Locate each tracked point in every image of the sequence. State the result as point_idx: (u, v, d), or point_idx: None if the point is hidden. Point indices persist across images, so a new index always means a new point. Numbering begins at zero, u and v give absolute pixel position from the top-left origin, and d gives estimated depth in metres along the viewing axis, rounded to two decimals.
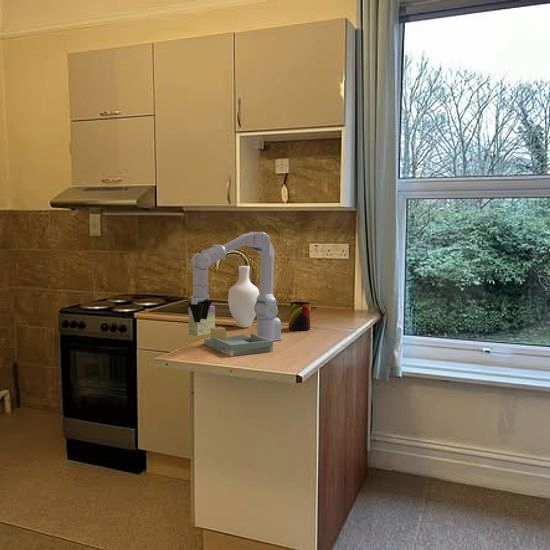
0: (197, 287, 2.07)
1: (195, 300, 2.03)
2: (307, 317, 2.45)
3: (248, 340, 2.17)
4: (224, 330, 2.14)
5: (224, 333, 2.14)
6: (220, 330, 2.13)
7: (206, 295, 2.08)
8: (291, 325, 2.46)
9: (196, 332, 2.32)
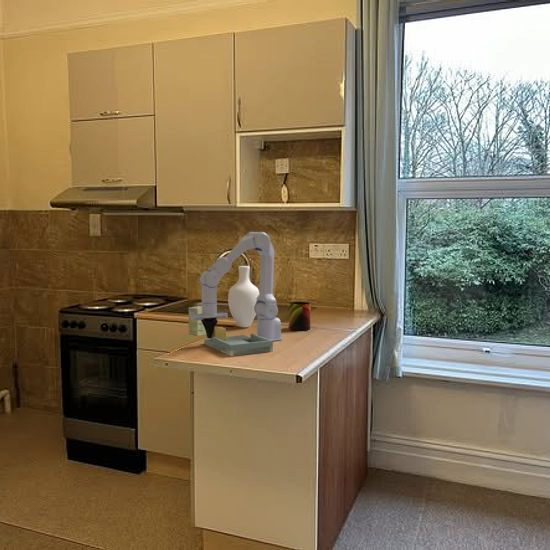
0: (202, 304, 2.11)
1: (192, 317, 2.08)
2: (307, 317, 2.45)
3: (248, 340, 2.17)
4: (224, 330, 2.14)
5: (224, 333, 2.14)
6: (220, 330, 2.13)
7: (209, 313, 2.10)
8: (291, 325, 2.46)
9: (196, 332, 2.32)
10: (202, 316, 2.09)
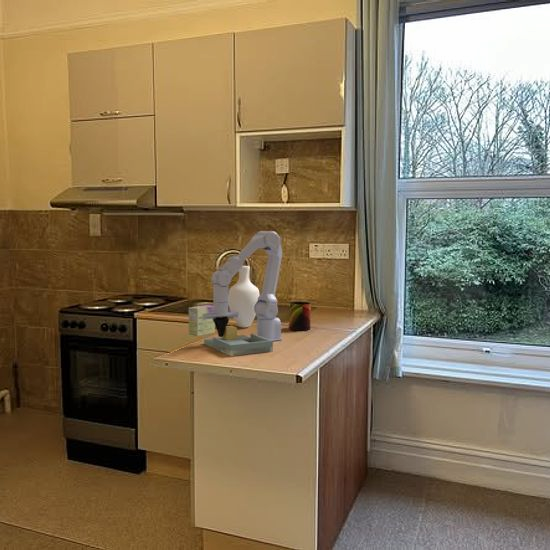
0: (213, 303, 2.13)
1: (204, 315, 2.11)
2: (307, 317, 2.45)
3: (248, 340, 2.17)
4: (235, 329, 2.16)
5: (235, 332, 2.16)
6: (231, 329, 2.15)
7: (221, 312, 2.12)
8: (291, 325, 2.46)
9: (196, 332, 2.32)
10: (214, 315, 2.11)
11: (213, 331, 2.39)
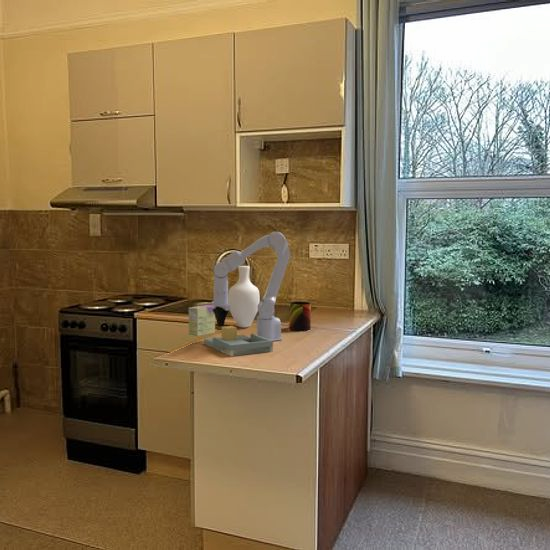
0: (223, 294, 2.20)
1: (229, 306, 2.17)
2: (307, 317, 2.45)
3: (248, 340, 2.17)
4: (235, 329, 2.16)
5: (235, 332, 2.16)
6: (231, 329, 2.15)
7: (227, 301, 2.23)
8: (292, 325, 2.46)
9: (196, 332, 2.32)
10: (228, 305, 2.20)
11: (213, 331, 2.39)
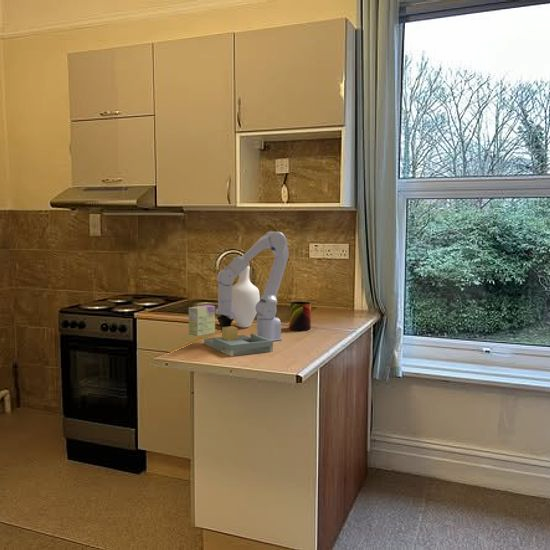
0: (227, 302, 2.16)
1: (234, 315, 2.13)
2: (308, 317, 2.46)
3: (248, 340, 2.17)
4: (236, 329, 2.15)
5: (236, 332, 2.15)
6: (232, 329, 2.14)
7: None
8: (292, 325, 2.46)
9: (196, 332, 2.32)
10: (233, 313, 2.17)
11: (213, 331, 2.39)
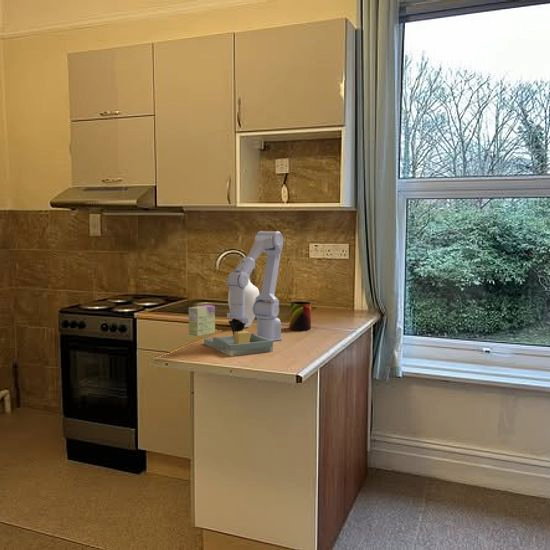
0: (240, 306, 2.07)
1: (247, 319, 2.04)
2: (308, 317, 2.46)
3: None
4: (248, 334, 2.06)
5: (248, 337, 2.06)
6: (244, 334, 2.05)
7: (244, 313, 2.10)
8: (292, 325, 2.46)
9: (196, 332, 2.32)
10: (246, 317, 2.08)
11: (213, 331, 2.39)
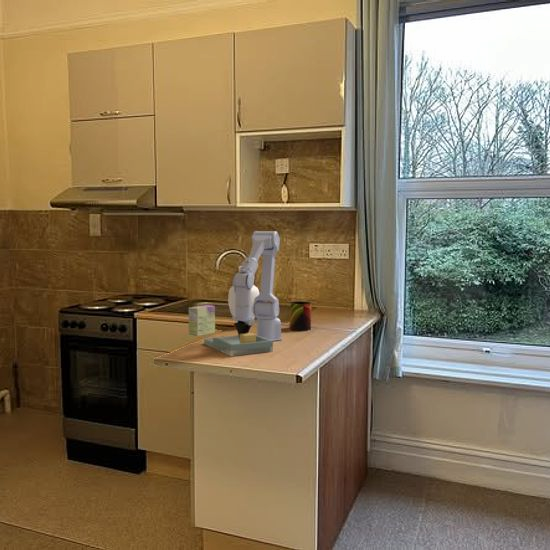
0: (246, 308, 2.03)
1: (253, 321, 2.00)
2: (308, 317, 2.46)
3: None
4: (254, 336, 2.02)
5: (254, 339, 2.02)
6: (250, 336, 2.01)
7: (250, 315, 2.06)
8: (292, 325, 2.46)
9: (196, 332, 2.32)
10: None
11: (213, 331, 2.39)
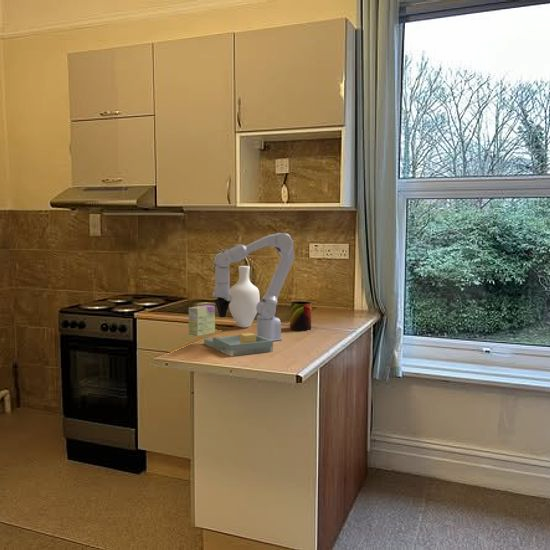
0: (224, 285, 2.17)
1: (231, 297, 2.14)
2: (308, 317, 2.46)
3: None
4: (254, 336, 2.02)
5: (254, 339, 2.02)
6: (250, 336, 2.01)
7: None
8: (292, 325, 2.47)
9: (196, 332, 2.32)
10: (230, 295, 2.18)
11: (213, 331, 2.39)
